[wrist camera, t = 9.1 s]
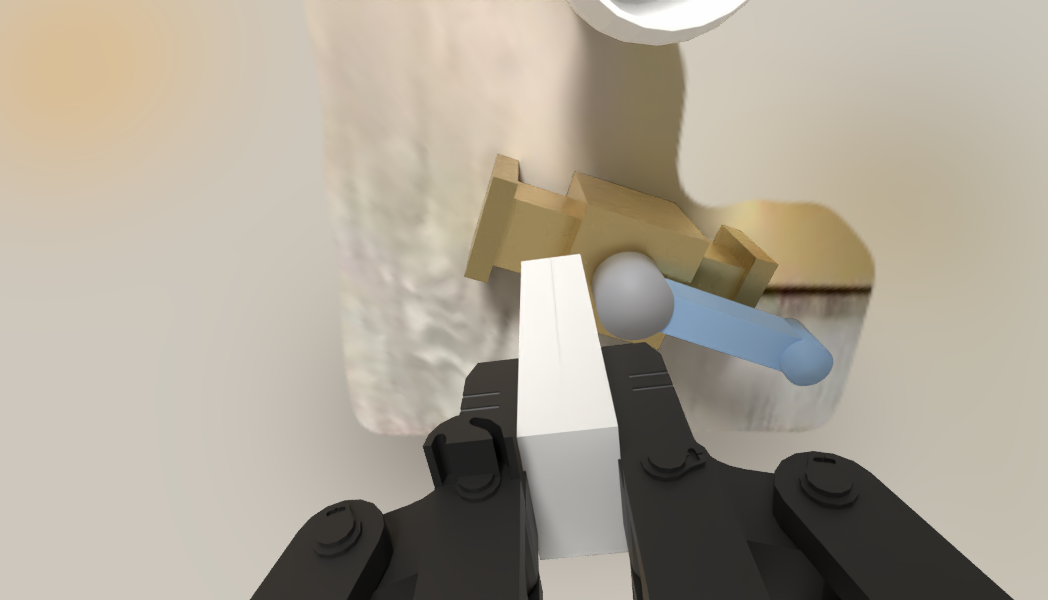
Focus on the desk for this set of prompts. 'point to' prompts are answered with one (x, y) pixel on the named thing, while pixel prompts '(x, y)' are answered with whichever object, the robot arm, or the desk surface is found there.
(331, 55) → the desk surface
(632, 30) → the cup
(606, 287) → the lever
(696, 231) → the valve body
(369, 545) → the robot arm
